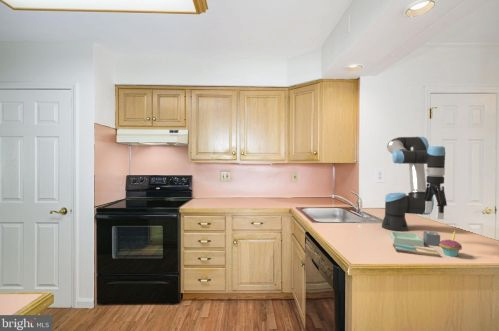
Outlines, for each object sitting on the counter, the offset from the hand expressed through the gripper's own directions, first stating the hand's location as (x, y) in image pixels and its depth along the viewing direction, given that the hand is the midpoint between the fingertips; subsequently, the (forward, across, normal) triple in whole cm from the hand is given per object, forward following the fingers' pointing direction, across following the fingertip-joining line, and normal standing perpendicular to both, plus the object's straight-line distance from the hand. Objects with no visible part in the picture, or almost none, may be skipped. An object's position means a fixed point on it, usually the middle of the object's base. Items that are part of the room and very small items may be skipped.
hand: (433, 215), depth 136 cm
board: (+16, +12, -12) cm, 23 cm away
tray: (+16, -4, -12) cm, 20 cm away
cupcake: (+16, +13, +2) cm, 21 cm away
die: (+16, -2, 0) cm, 16 cm away
